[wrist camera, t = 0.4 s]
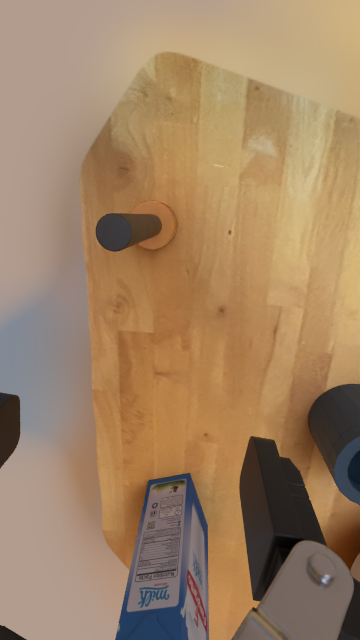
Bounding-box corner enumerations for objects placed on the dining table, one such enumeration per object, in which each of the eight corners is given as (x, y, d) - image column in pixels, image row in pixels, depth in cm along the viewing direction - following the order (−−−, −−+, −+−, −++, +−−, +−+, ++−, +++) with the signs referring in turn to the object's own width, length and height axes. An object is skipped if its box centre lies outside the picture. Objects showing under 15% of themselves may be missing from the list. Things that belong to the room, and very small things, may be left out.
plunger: (136, 199, 36) (74, 184, 19) (179, 204, 36) (157, 194, 19) (133, 243, 37) (73, 267, 20) (174, 248, 37) (149, 277, 20)
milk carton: (148, 480, 48) (111, 656, 29) (189, 472, 47) (179, 649, 28) (168, 531, 50) (146, 723, 31) (207, 525, 49) (209, 718, 30)
